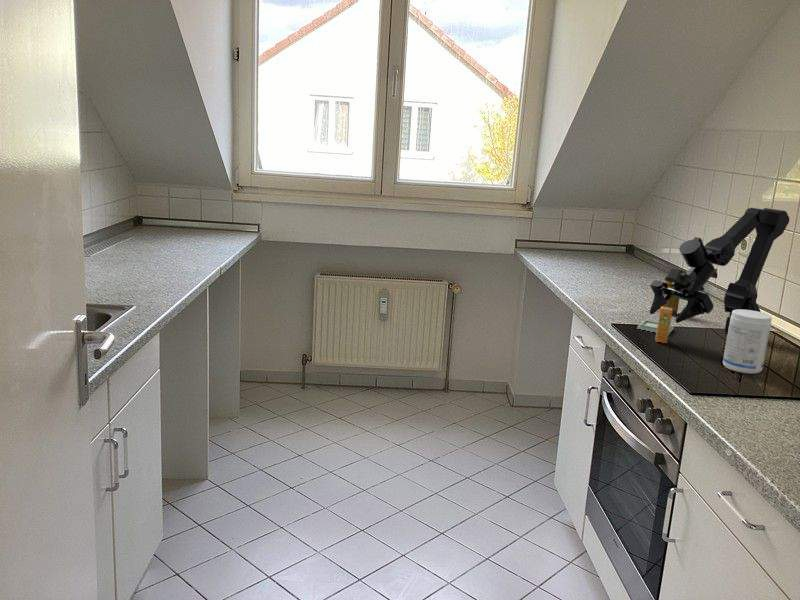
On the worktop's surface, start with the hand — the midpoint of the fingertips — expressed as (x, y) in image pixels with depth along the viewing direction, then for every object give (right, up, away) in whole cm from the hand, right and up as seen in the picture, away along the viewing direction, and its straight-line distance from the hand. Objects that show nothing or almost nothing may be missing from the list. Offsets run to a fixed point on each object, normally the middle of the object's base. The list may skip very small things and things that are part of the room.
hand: (663, 317), depth 211 cm
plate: (+3, -4, +16) cm, 17 cm away
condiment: (+17, 0, +41) cm, 44 cm away
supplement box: (0, -7, +2) cm, 8 cm away
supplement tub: (+14, -13, -18) cm, 26 cm away
